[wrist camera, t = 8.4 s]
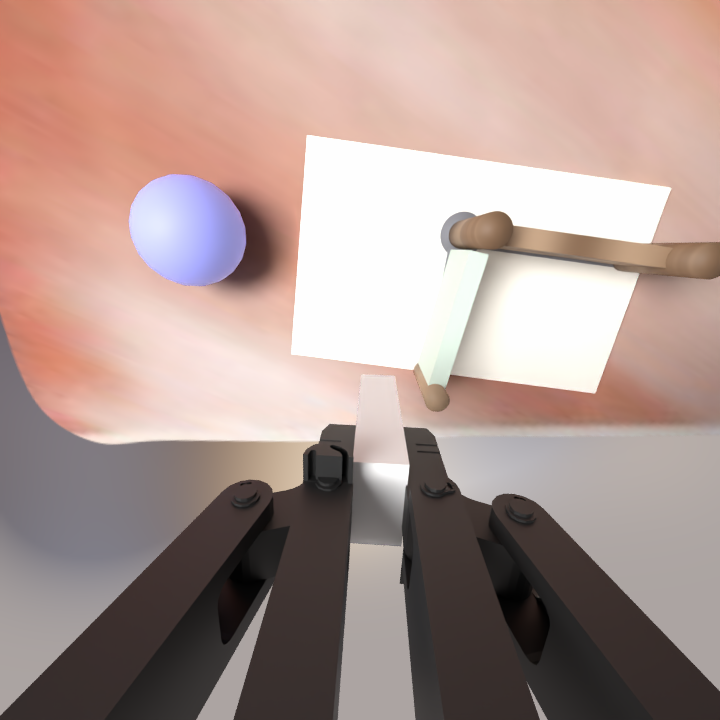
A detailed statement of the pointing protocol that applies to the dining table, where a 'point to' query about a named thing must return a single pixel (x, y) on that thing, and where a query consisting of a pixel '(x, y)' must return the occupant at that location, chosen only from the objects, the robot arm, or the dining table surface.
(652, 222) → the card
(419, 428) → the robot arm
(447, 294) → the folding fence panel
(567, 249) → the fixed fence section
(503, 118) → the dining table surface
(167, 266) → the sphere
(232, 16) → the dining table surface
